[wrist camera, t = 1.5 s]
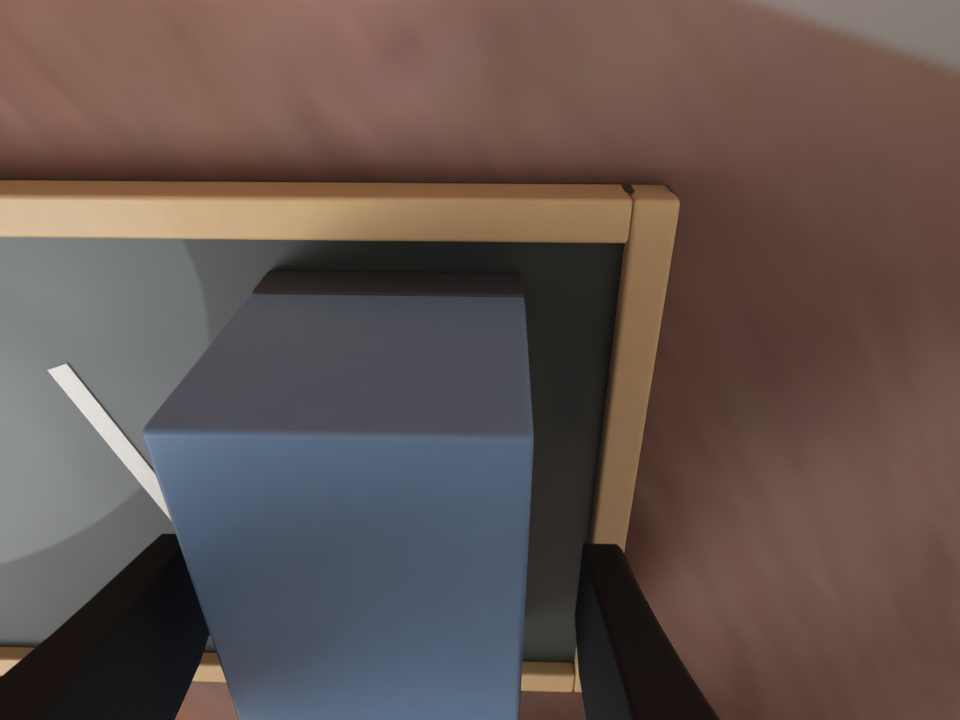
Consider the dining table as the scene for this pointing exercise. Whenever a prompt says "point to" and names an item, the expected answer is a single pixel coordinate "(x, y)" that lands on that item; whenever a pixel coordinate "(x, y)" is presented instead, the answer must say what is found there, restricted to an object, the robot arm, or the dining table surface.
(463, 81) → the dining table surface
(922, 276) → the dining table surface
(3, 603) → the slate board
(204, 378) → the eraser
